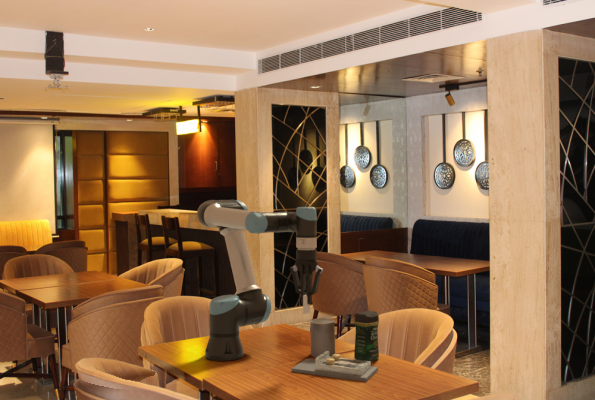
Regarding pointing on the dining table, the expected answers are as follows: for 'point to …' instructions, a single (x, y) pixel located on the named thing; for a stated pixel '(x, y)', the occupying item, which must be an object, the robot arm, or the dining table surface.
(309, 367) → the board
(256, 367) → the dining table surface
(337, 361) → the keyhole panel
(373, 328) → the coffee jar
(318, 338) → the pillar candle
